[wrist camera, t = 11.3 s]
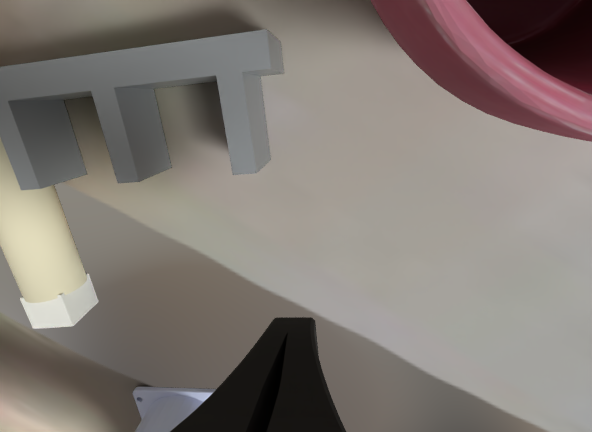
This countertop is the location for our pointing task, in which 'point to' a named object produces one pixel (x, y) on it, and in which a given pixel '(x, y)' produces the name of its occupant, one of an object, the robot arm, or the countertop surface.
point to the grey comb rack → (134, 105)
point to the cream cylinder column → (42, 253)
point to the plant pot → (504, 56)
